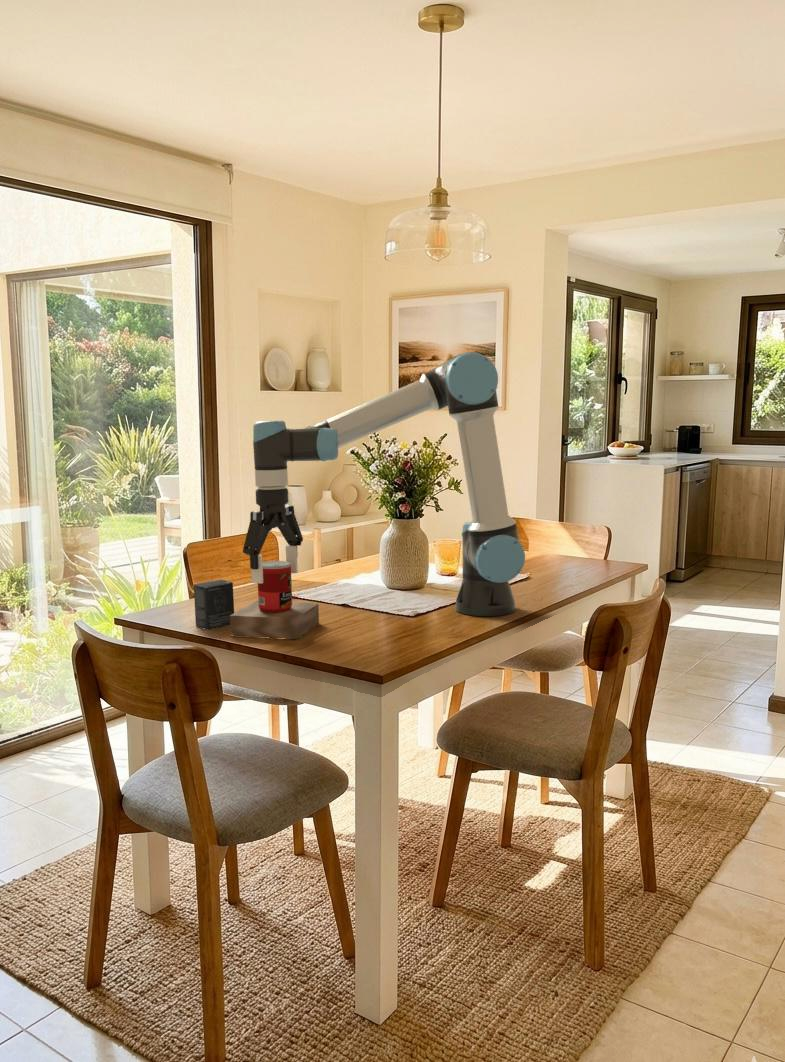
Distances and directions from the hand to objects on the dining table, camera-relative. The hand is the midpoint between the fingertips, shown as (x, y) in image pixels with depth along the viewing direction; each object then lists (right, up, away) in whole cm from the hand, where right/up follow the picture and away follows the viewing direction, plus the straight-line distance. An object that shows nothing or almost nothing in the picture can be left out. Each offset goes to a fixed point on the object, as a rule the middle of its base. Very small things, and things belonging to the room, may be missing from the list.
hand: (275, 577), depth 215 cm
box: (-15, -12, +7) cm, 21 cm away
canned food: (0, -8, +1) cm, 8 cm away
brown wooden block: (0, -12, +2) cm, 13 cm away
